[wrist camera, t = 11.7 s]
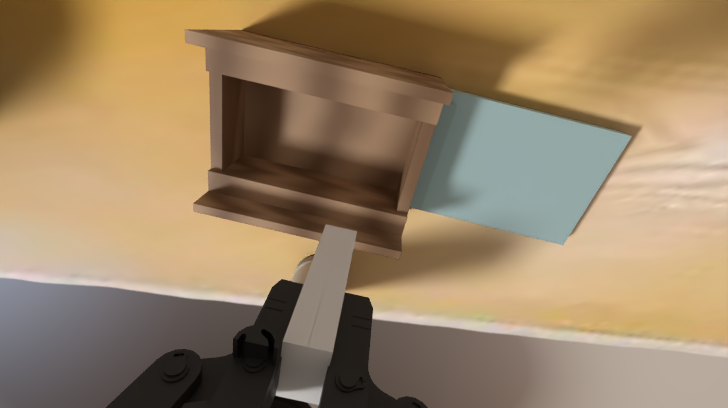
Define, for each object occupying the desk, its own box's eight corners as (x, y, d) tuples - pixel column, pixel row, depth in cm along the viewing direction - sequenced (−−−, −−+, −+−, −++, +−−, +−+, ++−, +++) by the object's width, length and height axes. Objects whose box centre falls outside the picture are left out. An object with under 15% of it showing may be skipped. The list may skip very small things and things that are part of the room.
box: (237, 173, 35) (193, 211, 28) (240, 30, 29) (184, 29, 21) (399, 211, 36) (399, 259, 28) (440, 77, 29) (453, 93, 22)
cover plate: (403, 197, 35) (403, 212, 32) (438, 84, 30) (443, 91, 27) (555, 234, 36) (569, 253, 33) (618, 130, 30) (643, 141, 27)
